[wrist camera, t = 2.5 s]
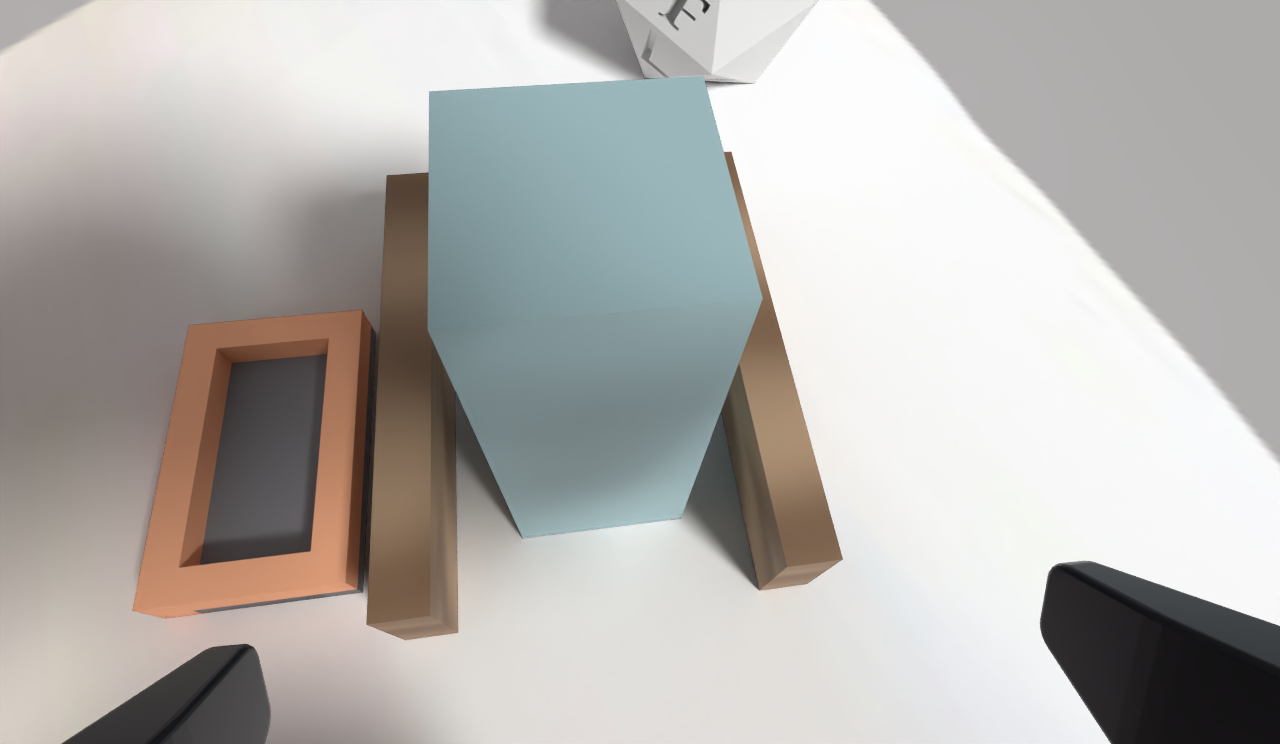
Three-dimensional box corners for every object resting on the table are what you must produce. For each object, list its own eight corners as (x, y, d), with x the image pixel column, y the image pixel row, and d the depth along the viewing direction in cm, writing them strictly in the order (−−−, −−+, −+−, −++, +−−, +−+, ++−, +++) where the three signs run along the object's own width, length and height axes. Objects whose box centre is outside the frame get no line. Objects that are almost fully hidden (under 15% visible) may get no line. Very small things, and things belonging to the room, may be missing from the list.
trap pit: (362, 592, 20) (345, 583, 18) (165, 618, 19) (132, 610, 18) (375, 332, 24) (361, 309, 22) (212, 347, 23) (189, 325, 22)
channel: (806, 583, 20) (842, 559, 17) (405, 639, 19) (366, 624, 16) (716, 216, 27) (731, 151, 24) (412, 240, 26) (386, 175, 23)
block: (680, 518, 21) (762, 298, 10) (522, 538, 21) (427, 329, 10) (657, 379, 24) (703, 76, 12) (514, 394, 23) (428, 90, 12)
